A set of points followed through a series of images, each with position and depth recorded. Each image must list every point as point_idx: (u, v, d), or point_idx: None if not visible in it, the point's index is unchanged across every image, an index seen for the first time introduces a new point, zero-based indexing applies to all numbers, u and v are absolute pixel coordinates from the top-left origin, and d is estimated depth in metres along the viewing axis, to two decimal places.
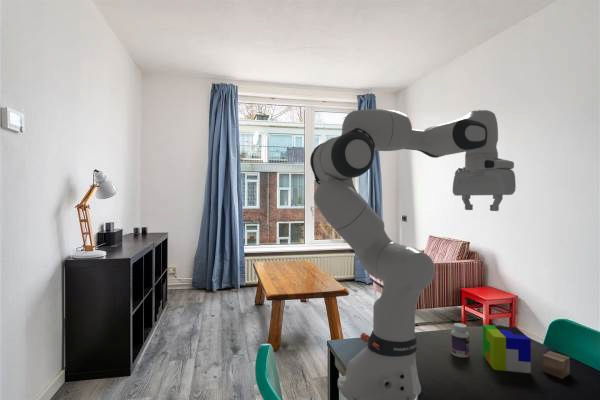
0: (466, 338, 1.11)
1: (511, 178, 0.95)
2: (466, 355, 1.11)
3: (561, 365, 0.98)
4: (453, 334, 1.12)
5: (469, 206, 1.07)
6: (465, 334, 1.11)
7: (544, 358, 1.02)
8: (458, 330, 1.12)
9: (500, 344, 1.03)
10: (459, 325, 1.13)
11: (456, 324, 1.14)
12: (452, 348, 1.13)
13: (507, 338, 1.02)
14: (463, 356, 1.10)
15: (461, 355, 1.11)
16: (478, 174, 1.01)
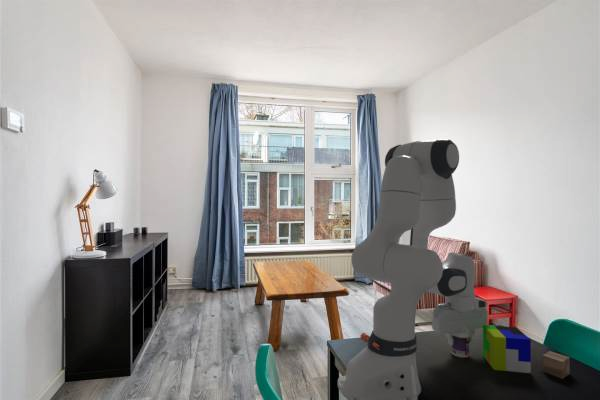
0: (466, 338, 1.11)
1: None
2: (466, 355, 1.11)
3: (561, 365, 0.98)
4: (453, 334, 1.12)
5: None
6: (465, 334, 1.11)
7: (544, 358, 1.02)
8: None
9: (500, 344, 1.03)
10: None
11: None
12: (452, 348, 1.13)
13: (507, 338, 1.02)
14: (463, 356, 1.10)
15: (461, 355, 1.11)
16: (470, 312, 1.11)
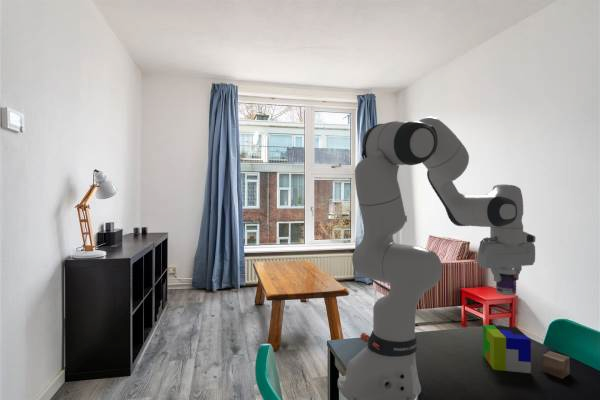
0: (513, 275, 1.04)
1: None
2: (513, 293, 1.04)
3: (561, 365, 0.98)
4: (499, 272, 1.06)
5: None
6: (512, 271, 1.05)
7: (544, 358, 1.02)
8: (505, 267, 1.06)
9: (500, 344, 1.03)
10: None
11: None
12: (498, 287, 1.07)
13: (507, 338, 1.02)
14: (510, 294, 1.04)
15: (508, 293, 1.04)
16: (517, 247, 1.05)
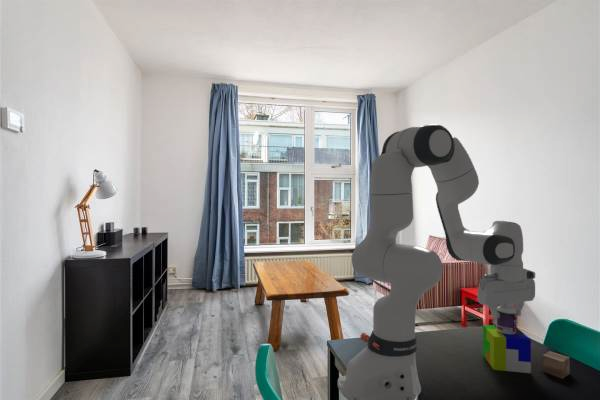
0: (514, 314, 1.04)
1: None
2: (513, 332, 1.04)
3: (561, 365, 0.98)
4: (499, 310, 1.06)
5: None
6: (513, 310, 1.05)
7: (544, 358, 1.02)
8: (505, 306, 1.05)
9: (500, 344, 1.03)
10: None
11: None
12: (498, 325, 1.07)
13: (508, 338, 1.02)
14: (510, 333, 1.04)
15: (508, 332, 1.04)
16: (517, 284, 1.05)
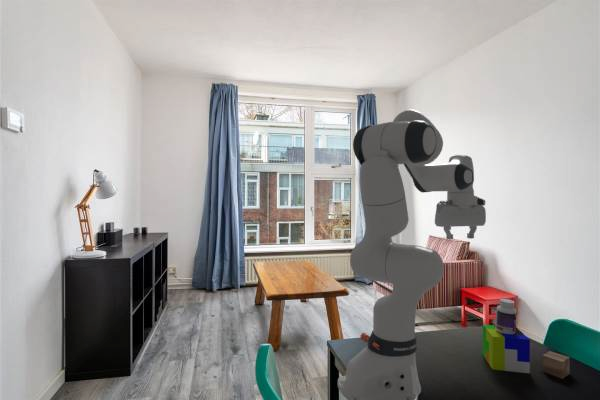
0: (514, 314, 1.04)
1: None
2: (513, 332, 1.05)
3: (561, 365, 0.98)
4: (500, 310, 1.06)
5: None
6: (513, 310, 1.05)
7: (544, 358, 1.02)
8: (506, 306, 1.05)
9: (499, 344, 1.03)
10: (506, 301, 1.06)
11: (503, 300, 1.07)
12: (498, 325, 1.06)
13: (506, 338, 1.02)
14: (510, 333, 1.04)
15: (508, 332, 1.04)
16: (469, 209, 1.22)
